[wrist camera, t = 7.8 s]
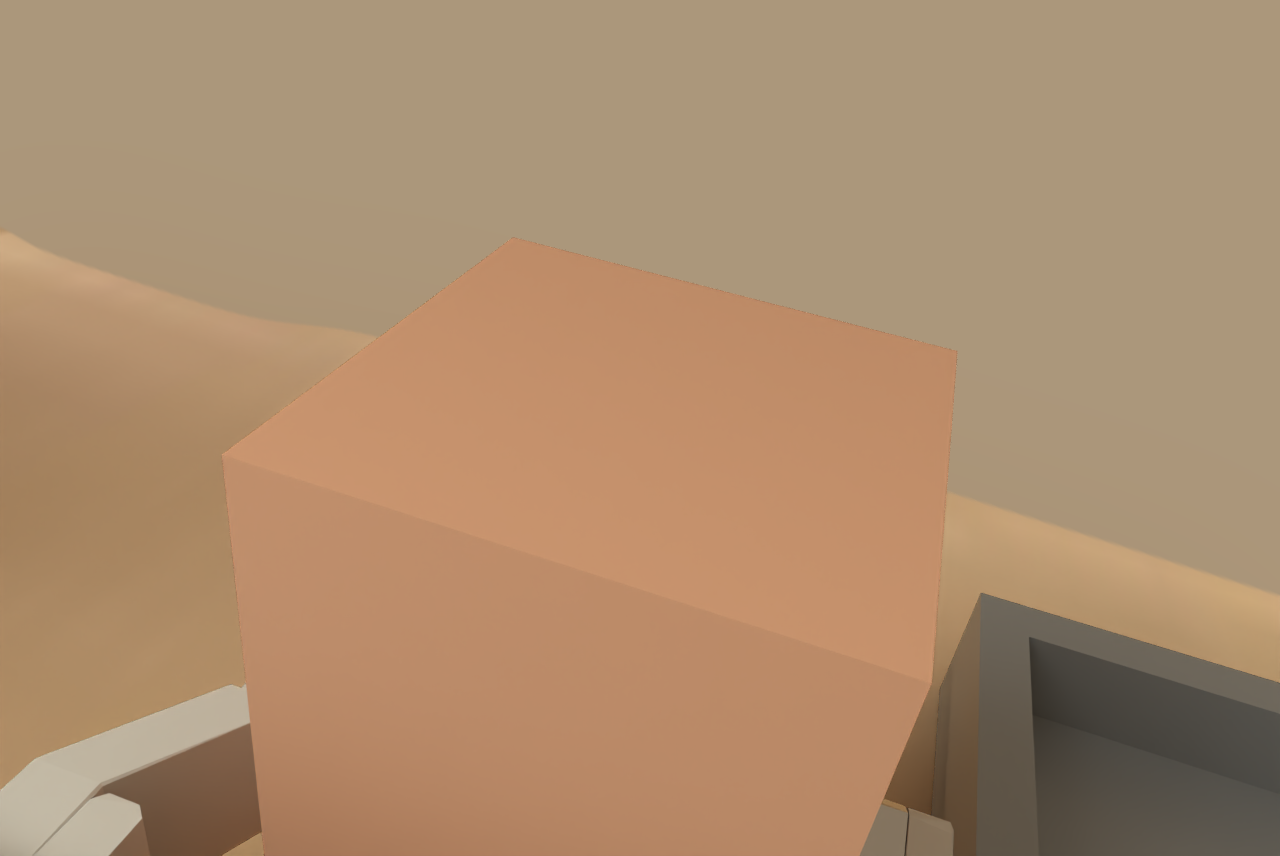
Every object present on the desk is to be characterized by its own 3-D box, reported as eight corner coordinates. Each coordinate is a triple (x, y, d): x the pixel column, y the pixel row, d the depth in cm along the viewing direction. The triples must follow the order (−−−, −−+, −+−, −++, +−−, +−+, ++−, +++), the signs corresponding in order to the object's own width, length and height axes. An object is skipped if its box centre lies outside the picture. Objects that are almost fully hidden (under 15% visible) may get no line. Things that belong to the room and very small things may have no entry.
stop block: (300, 1188, 13) (220, 454, 7) (466, 874, 17) (512, 237, 11) (649, 1355, 12) (932, 683, 6) (737, 981, 16) (957, 351, 10)
